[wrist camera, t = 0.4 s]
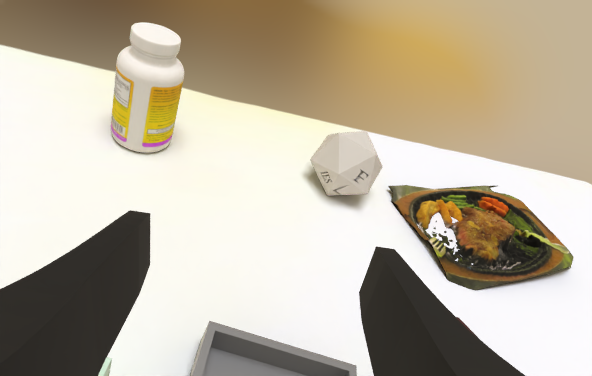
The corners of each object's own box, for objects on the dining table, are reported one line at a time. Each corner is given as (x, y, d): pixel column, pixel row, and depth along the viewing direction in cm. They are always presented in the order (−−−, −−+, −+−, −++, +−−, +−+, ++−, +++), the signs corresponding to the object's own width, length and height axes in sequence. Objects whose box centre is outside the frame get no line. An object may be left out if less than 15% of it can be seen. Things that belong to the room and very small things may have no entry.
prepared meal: (475, 280, 44) (395, 172, 55) (455, 296, 46) (382, 189, 57) (586, 264, 59) (505, 182, 70) (567, 277, 61) (491, 195, 72)
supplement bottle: (177, 132, 49) (198, 36, 41) (160, 162, 44) (181, 58, 36) (123, 114, 48) (135, 11, 40) (99, 142, 43) (108, 30, 35)
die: (290, 184, 51) (344, 168, 43) (308, 129, 55) (361, 106, 47) (335, 211, 55) (391, 202, 48) (348, 159, 59) (403, 142, 51)
